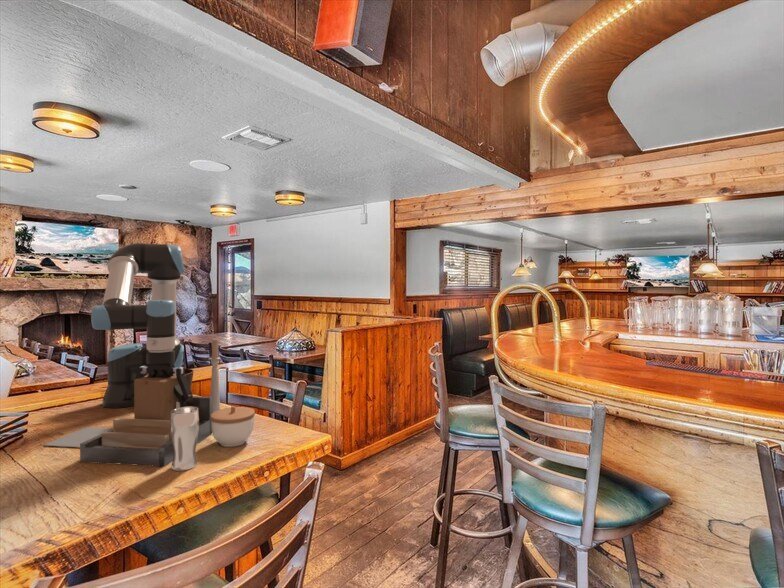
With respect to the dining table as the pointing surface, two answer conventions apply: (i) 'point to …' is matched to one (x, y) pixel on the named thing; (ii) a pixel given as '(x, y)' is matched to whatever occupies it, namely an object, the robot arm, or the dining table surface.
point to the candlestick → (215, 377)
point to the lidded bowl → (232, 425)
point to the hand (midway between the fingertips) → (160, 421)
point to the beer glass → (184, 437)
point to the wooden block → (154, 397)
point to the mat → (77, 437)
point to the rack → (146, 456)
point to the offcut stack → (137, 433)
